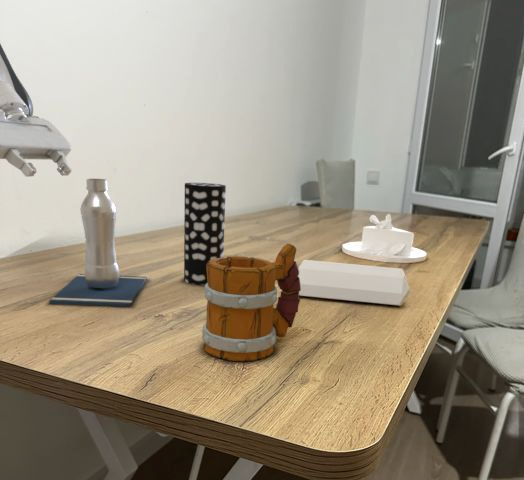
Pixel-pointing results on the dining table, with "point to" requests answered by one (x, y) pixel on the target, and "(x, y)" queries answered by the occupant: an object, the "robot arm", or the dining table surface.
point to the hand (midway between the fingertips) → (50, 173)
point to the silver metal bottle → (99, 235)
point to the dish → (385, 244)
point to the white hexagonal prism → (353, 282)
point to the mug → (249, 304)
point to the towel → (100, 292)
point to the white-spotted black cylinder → (202, 229)
